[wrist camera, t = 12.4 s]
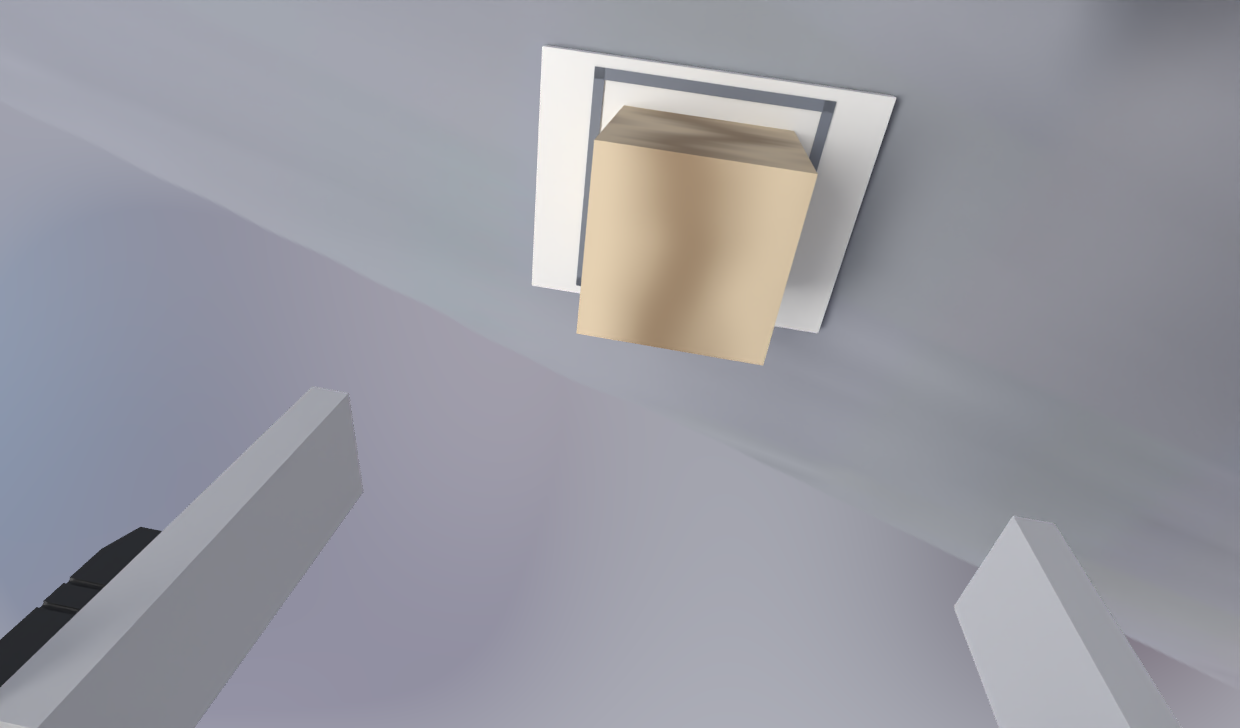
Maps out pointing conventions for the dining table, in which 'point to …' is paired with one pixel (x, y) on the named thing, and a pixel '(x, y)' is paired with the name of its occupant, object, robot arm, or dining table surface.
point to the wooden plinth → (691, 232)
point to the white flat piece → (603, 83)
